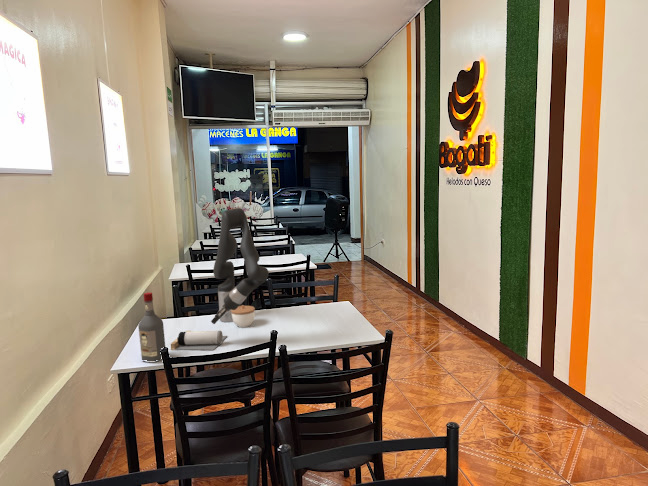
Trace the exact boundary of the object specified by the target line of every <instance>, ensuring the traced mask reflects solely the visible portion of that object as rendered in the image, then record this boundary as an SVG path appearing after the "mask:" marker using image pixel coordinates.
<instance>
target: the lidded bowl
mask: <svg viewBox="0 0 648 486" xmlns="http://www.w3.org/2000/svg"><path fill="white" fill-rule="evenodd" d="M255 310H256V308H255V307H254V306H252V305H244V304H241V305H239V307H238V308H237V309H236V310H231V313H232V319H233V321H232V322H233V324H234V325H236V327H238V328H246V327H250V326H251V324H253V322H254V320H255V315H256V314H255V313H256V312H255Z"/></svg>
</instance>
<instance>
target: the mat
mask: <svg viewBox="0 0 648 486" xmlns="http://www.w3.org/2000/svg"><path fill="white" fill-rule="evenodd" d="M227 338H228V335H223V339H222V343H223V341H225V340H226V339H227ZM220 345H221V344H200V345H179V346H178V347H177V348H176V349H175V350H174V351H206V352H207V351H215V350H216V349H217V348H218V347H219V346H220Z"/></svg>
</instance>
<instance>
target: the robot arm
mask: <svg viewBox="0 0 648 486" xmlns="http://www.w3.org/2000/svg"><path fill="white" fill-rule="evenodd" d="M220 220H221V221H220V234H219V239H218V240H219V241H218V244H217V253H216V254H217V255H216V259H215V261H214V265H213V276H214V278H215V279H217V280H222V279H226V280H224V281H223V282H222V283H220V284H219V285H218V286H217V297H218V308H219V310H218V311H217V313H215V315H214V317H213V319H212V320H211V321H210V322H211V323H212V325H215V324H217V322H218V321H220V322H223V323H230V322H233V319H232V313H231V310H236V309H237V308H238V307H239V306H241V305H242V304H243V302H244V301H245V300H246V299H247V297H248V296H249V295H250V294H251V293H252V292H253V291H254V290H256V289H257V288H258V287H259V286H261V285H262V284H263V283H265V282H266V281H267V279H268V278H269V276H270V275H269V273H270V272H269V270H268V268H267V267H265V266H262V265H259V263H258V262H259V261H260V255H259V253H258V251H257V248H256V246H255V243H254V240H253V238H252V233H251V230H250V226H249V222H248V219H247V216H246V213H245V211H244V210H243V208H241V207H239V208H238V207H236V208H232V209H226V210H224V211H222V214H221V219H220ZM237 228H241V230H242V237H241V241H240V245H239V247H240V248H239V250H240V252H241V255H242V258H243V260H244V263H245V264H244V265H245V271H246V275H247V278H243V279H242V280H241V281H240V282H238V283H237V285H236V286H235V266H234V262H232V261H229V260H230V259H231V258H232V257H233V256H234V254H236V250H237V246H238V242H237V239H236V238H235V236H234V235H233V234H232V232H230V231H231V230H232V229H237Z"/></svg>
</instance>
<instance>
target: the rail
mask: <svg viewBox="0 0 648 486" xmlns="http://www.w3.org/2000/svg"><path fill="white" fill-rule="evenodd" d="M191 331H192V330H186V331H185V332H191ZM179 345H180V344H179V343H178V341H177V338H176V339H175V340H173V341H172V342H171V343H170V351H176V350H175V349H176V348H177V347H178V346H179Z"/></svg>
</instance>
